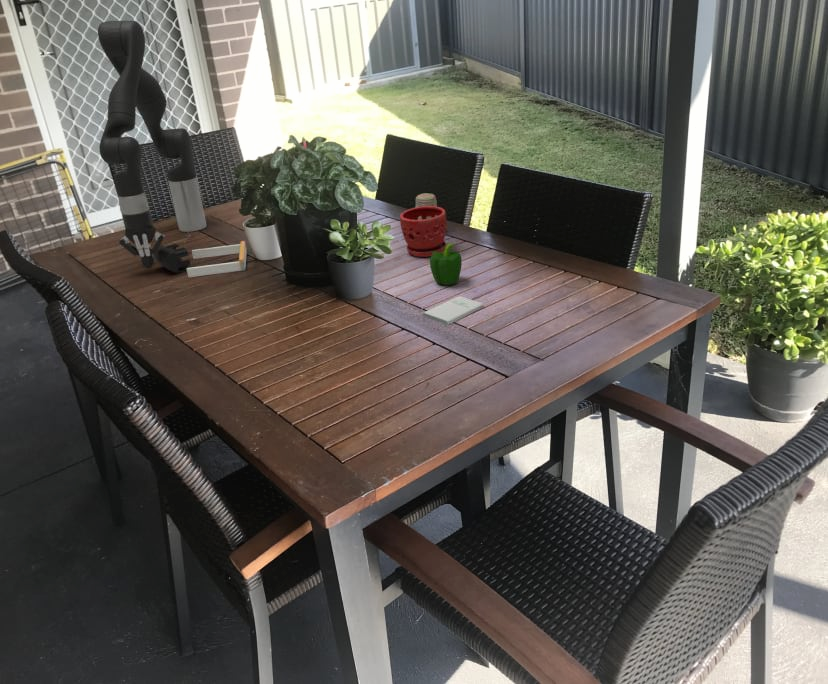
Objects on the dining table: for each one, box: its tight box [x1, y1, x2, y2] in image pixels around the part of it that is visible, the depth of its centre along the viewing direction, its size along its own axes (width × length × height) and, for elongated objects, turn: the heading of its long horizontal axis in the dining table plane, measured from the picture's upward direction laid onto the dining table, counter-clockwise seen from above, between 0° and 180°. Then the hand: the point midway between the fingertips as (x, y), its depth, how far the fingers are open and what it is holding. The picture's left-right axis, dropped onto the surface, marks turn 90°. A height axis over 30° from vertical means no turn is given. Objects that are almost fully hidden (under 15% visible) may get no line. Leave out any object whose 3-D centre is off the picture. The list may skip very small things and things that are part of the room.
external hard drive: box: [422, 295, 484, 326], centre depth 173 cm, size 2×8×12 cm
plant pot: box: [399, 206, 447, 258], centre depth 209 cm, size 13×13×12 cm
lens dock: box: [186, 240, 248, 278], centre depth 215 cm, size 17×16×3 cm
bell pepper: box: [429, 243, 463, 286], centre depth 187 cm, size 8×8×10 cm
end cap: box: [152, 243, 191, 274], centre depth 212 cm, size 10×7×7 cm
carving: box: [414, 192, 438, 220], centre depth 225 cm, size 6×8×12 cm
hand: (149, 267), depth 212 cm, fingers closed
